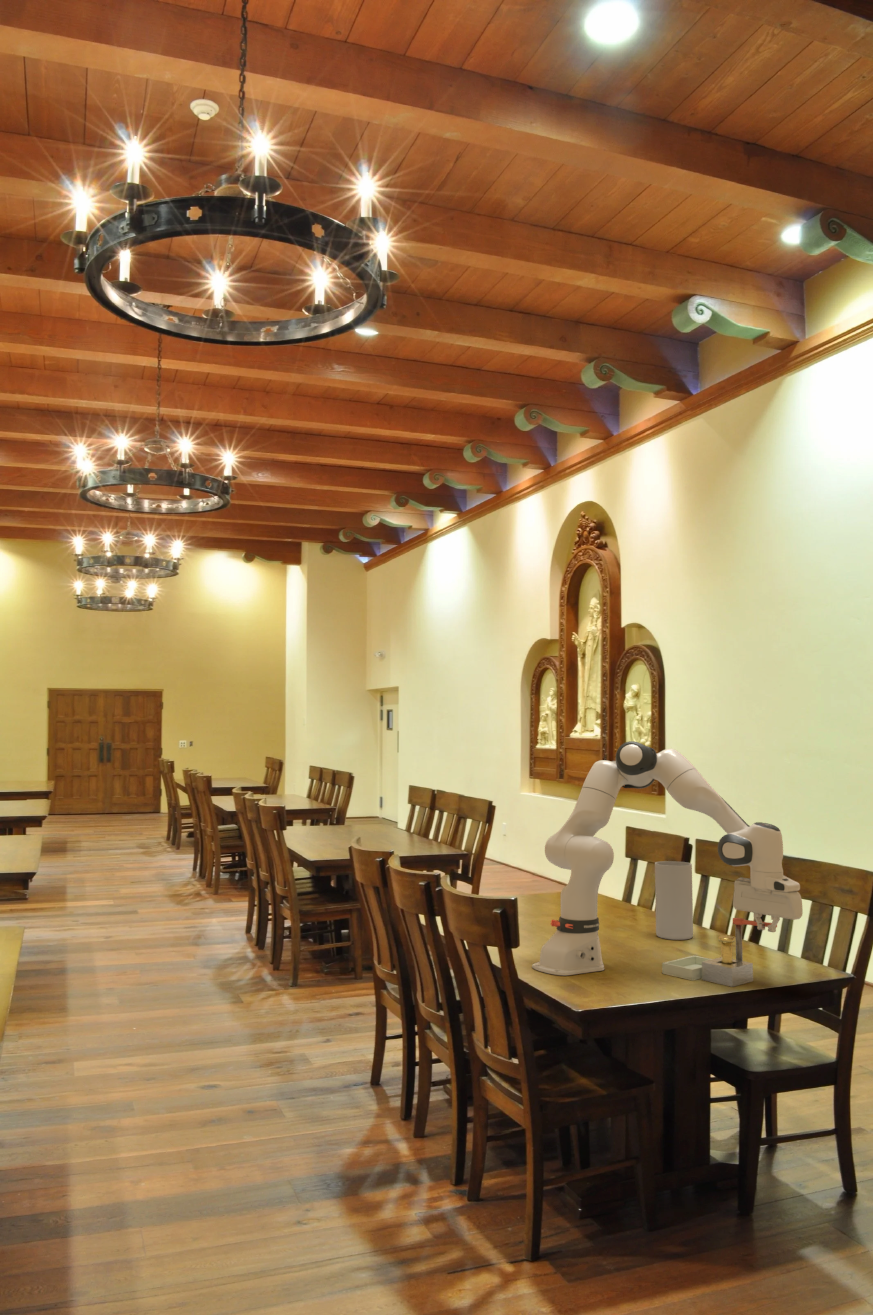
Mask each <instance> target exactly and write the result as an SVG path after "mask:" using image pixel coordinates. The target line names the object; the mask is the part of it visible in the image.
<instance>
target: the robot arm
mask: <svg viewBox="0 0 873 1315" xmlns="http://www.w3.org/2000/svg"><path fill="white" fill-rule="evenodd" d="M655 780H656V781H658V782H659V783H660V784H661V785H662V786H663V787H664V789H665V790H666V791H667V792H668V794H669V795H670V797H671V798H672V799H673V800H674V801H675V802H677V803H678V804H679V805H680V806H681V807H683V808H685V809H688V810H691V811H694V812H695V811H696V812H699V813H701V814H704V815H706V816H708V817H710V818H711V819H713V820H714V821H715V822H716V823H717V824H718V826H719V827H720V828H722V829H723V831H724V832H725V833H726V834H724V835H722V837H720V839H719V841H718V844H717V853H718V857H719V858H720V860H721V861H722V862H723V863H724V864H725V865H728V866H732V867H741V866H743V867H744V866H748V867H750V872H749V873H750V875H749V876H750V877H748V878H747V877H738V878H737V879H735V880H734V884H733V885H734V890H733V898H732V906H733V908H734V910H736V911H741V912H743V911H744V912H748V913H752V914H753V918H754V921H756V922H757V926H756V928H757V930H758V931H765V930H766V927H765V923H763V922H764V921H763V920H762V918H761V917H763V915H764V916H765V915H766V916H768V917H769V916H770V921H771V920H772V922H770V923H771V925H768V927H767V932H769V933H775V932H777V927H776V925H777V926H778V923H779V921H780V920H781V919H786V920H787V919H788V920H793V921H795V920H800V919H801V918H802V917H803V913H804V912H803V900H802V896H801V893H800V892H798V891H800V890H801V884H800V883H799V882H798V881H795V880H794V879H791V878H790V877H787V876H786V875H784V869H783V865H782V864H783V863H782V862H783V858H784V843H783V835H782V831H781V829H780V827H778V826H776V825H774V824H772V823H766V822H759V821H757V822H754V823H752V824H751V825H749V824H748V823H747V822H746V821H745V820H744V818H742V817H741V816H740V814H738V813H737V812H736V810H735V809H734V808H733V807H732V806H731V805H730V804H729V803H728V802H727V801H726V800H725V799H724V798H723V797H722V796H720V794H719V793H718V792H717V791H716V790H715V789H714V788H713V787H712V786H711V785H710V784H709V783H708V782H709V781H707V780H706V779H705V778H704V777H703V775H702V774H701V773H700V772H699V771H698V769H697V768H696V767H695V765H693V764H692V763H691V761H690V760H688V758H686V757H685V756H684V755H683V754H682V753H681V752H679V751H678V750H676V749H675V748H666V749H663V750H661V751H659V752H658V753H657V752H656V749H654V748H652V747H650V746H647V745H646V744H644V743H641V742H638V741H632V740H631V741H626V742H623V743H622V744H621V745H620V746H619V747H618V748H617V750H616V753H615V760H612V761H610V760H607V759H606V760H605V759H604V760H603V759H602V760H601V759H600V760H598V761H595V762H594V763H593V765H592V766H591V768H590V770H589V772H588V773H587V775H586V778H585V780H584V781H583V785H582V786H581V790H580V793H579V795H578V798H577V800H576V803H575V806H574V809H573V811H572V813H571V814H570V815H569V817H568V818H567V820H566V821H565V823H564V824H563V826H561V828H560V829H559V830H558V831H557V832H556V833H554V834H552V835H551V836H550V837H548V839H547V840H546V842H545V846H544V855H545V857H546V859H547V860H548V862H549V863H550V864H552V865H554V866H556V867H557V868H560V869H564V870H569V871H570V878H569V880H568V883H567V884H566V885H565V886H563V887H562V889H561V892H560V916H559V919H558V920H557V919H551V921H550V925H551V927H555V928H556V931H555V932H554V933H553V934H552V936H550V938H549V939H548V940H547V941H546V942H545V943H544V944H543V945H542V947H541V949H540V955H539V956H540V957H539V961H537V962H535V963H533V964H532V965H531V968H532V969H533V970H536V971H539V972H542V973H545V974H550V975H555V976H572V975H578V974H579V975H580V974H587V973H594V972H601V971H605V964H604V962H603V956H602V946H601V941H600V937H599V930H600V918H599V917H598V897H599V896H598V895H599V889H600V888H599V887H600V885H601V882H602V879H603V877H604V875H605V874H606V872H607V871H609V870H610V869H611V867H612V866H613V863H614V858H615V853H614V849H613V848H612V846H611V843H609V842H608V841H606V840H604V839H602V838H599V837H597V836H595V835H596V834H597V833H598V832H599V831H600V830H602V829H603V828H604V827H606V826H607V825H608V824H609V822H610V819H611V815H612V812H613V809H614V806H615V805H616V801H617V798H618V794H619V792H620V790H621V788H623V789H641V790H642V789H645V788H648V787H650V786H651V785H652V784H653V783H654V781H655Z"/></svg>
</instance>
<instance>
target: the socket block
mask: <svg viewBox="0 0 873 1315" xmlns="http://www.w3.org/2000/svg"><path fill="white" fill-rule="evenodd" d="M734 926H735V927H734V928H735V931H734V932H735V933H734V935H735V958H732V960H733V964H731V965H727V964H722V958H721V957H716V958H713V959H712V958H711V959H712V960H707V961H703V962H702V978H701V980H702V981H706V982H711V983H713V984H717V985H723V986H728V987H730V988H731V987H732V988H734V987H737V986H740V985H745V984H747V983H751V982H754V971H753V970H754V967H753V966H754V965H753V962H749V961H744V960H743V927H742V926H743V925H735V924H734Z"/></svg>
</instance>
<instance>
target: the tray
mask: <svg viewBox="0 0 873 1315" xmlns="http://www.w3.org/2000/svg"><path fill="white" fill-rule="evenodd" d="M707 960H712V958H708V957H703V956H699V955H690V956H686V957H680V958H678V959H674V960H668V961H664V962H662V963H661V974H664V975H668V976H673V977H676V978H681V979H685V980H687V981H695V980H696V981H697V980H700V979H702V962H703V961H707Z"/></svg>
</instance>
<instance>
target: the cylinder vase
mask: <svg viewBox="0 0 873 1315" xmlns="http://www.w3.org/2000/svg"><path fill="white" fill-rule="evenodd" d="M654 882H655V883H654V886H655V887H654V888H655V889H654V890H655V896H654V897H655V934H656V936H657V937H658V938H660V939H664V940H671V941H685V940H689V939H692V938H693V937H694V910H693V905H694V902H693V901H694V900H693V863H690V862H685V861H677V860H676V861H674V860H673V861H672V860H668V861H667V860H664V861H656V862H654Z"/></svg>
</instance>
